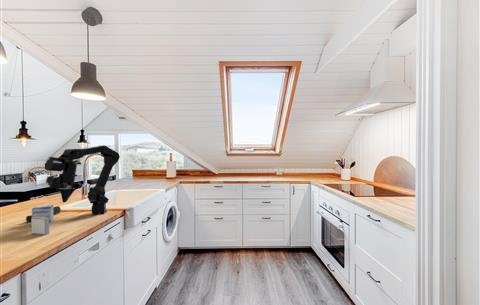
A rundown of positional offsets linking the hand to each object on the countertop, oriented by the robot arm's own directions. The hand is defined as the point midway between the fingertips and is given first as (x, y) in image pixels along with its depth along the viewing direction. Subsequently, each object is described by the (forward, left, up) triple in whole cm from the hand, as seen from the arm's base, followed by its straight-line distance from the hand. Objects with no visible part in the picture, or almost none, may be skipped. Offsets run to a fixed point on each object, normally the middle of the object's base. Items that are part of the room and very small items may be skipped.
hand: (64, 202), depth 114 cm
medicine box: (+13, -6, -12) cm, 18 cm away
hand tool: (+18, -17, -12) cm, 27 cm away
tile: (+4, +13, -11) cm, 18 cm away
